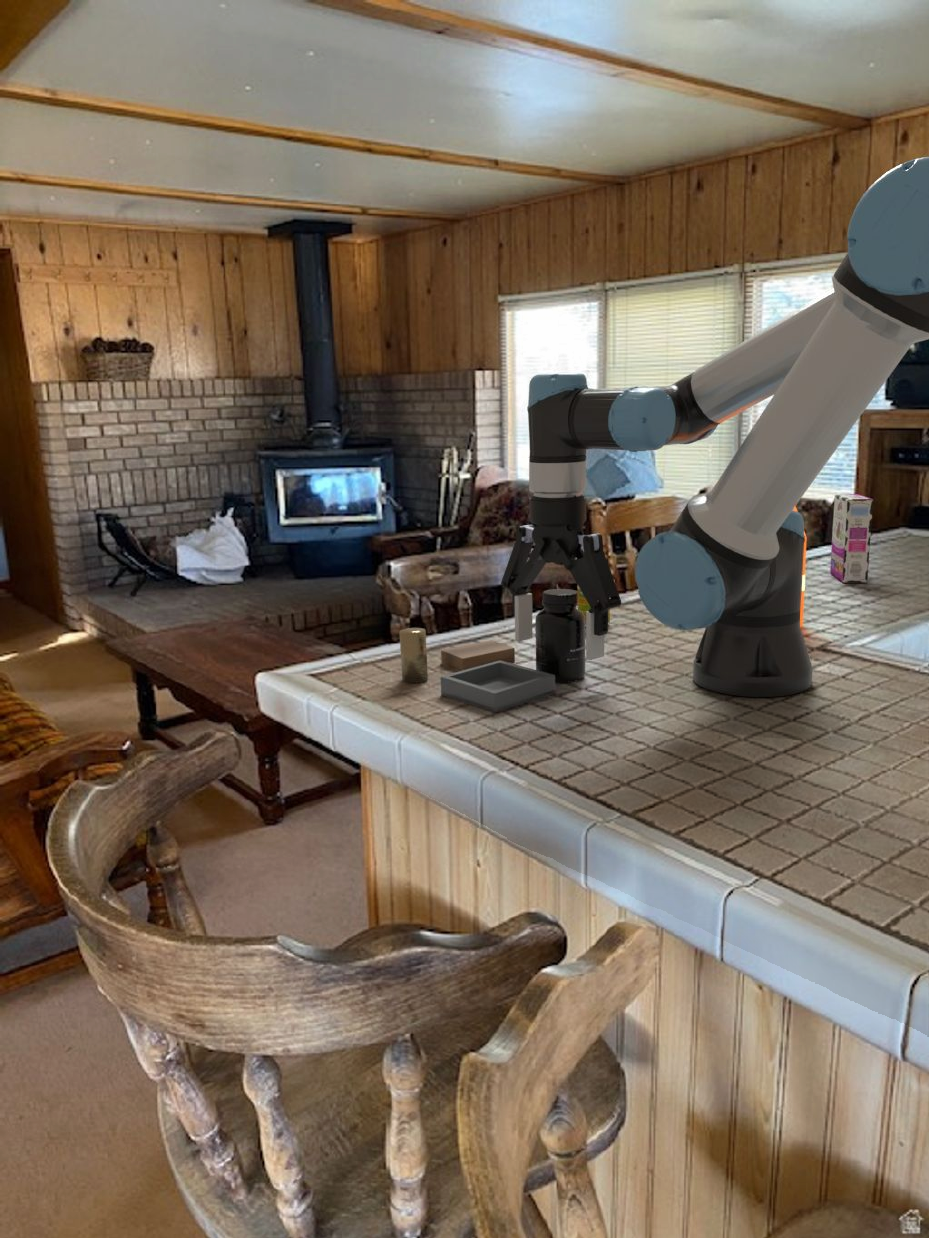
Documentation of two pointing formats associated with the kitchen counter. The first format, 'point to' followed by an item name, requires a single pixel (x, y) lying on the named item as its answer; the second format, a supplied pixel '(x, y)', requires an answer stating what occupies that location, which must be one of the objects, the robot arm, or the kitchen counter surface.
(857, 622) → the kitchen counter surface
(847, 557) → the candy bar box
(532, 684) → the tray
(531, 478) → the robot arm
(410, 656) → the cylinder
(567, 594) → the supplement bottle
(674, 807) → the kitchen counter surface
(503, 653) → the tan cardboard box
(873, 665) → the kitchen counter surface
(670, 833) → the kitchen counter surface
